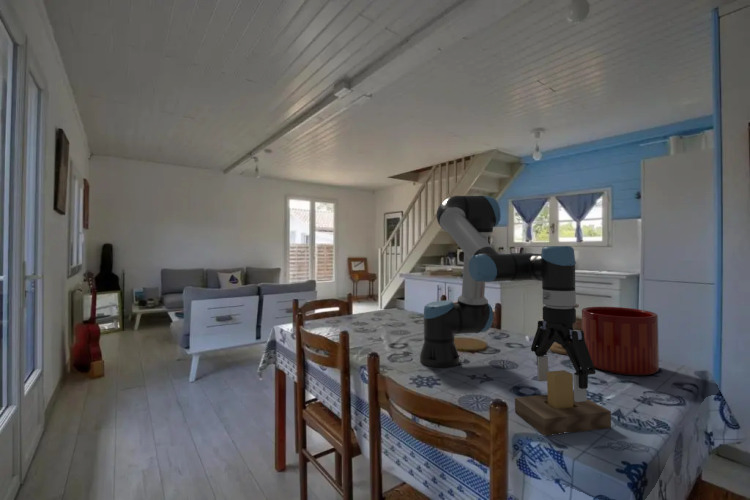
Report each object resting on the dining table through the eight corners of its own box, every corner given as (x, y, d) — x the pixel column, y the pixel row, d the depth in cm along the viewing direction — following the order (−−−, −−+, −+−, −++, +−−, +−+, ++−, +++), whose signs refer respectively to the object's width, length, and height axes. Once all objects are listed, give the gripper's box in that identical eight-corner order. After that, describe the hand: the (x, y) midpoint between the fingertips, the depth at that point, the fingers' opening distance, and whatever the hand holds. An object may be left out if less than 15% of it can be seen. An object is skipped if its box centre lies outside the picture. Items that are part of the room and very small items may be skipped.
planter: (587, 353, 144) (586, 304, 144) (659, 364, 129) (658, 310, 129) (577, 368, 126) (576, 312, 126) (659, 382, 112) (657, 320, 112)
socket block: (544, 436, 81) (544, 418, 81) (515, 412, 93) (514, 397, 93) (611, 427, 84) (610, 411, 84) (574, 406, 96) (573, 391, 96)
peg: (547, 418, 89) (547, 371, 89) (565, 416, 90) (564, 370, 90) (556, 423, 86) (555, 375, 87) (573, 421, 87) (572, 374, 87)
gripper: (517, 300, 100) (518, 374, 100) (583, 315, 76) (585, 413, 76) (540, 299, 101) (541, 372, 101) (613, 314, 77) (614, 410, 77)
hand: (560, 389), depth 88 cm, fingers open, 13 cm apart
